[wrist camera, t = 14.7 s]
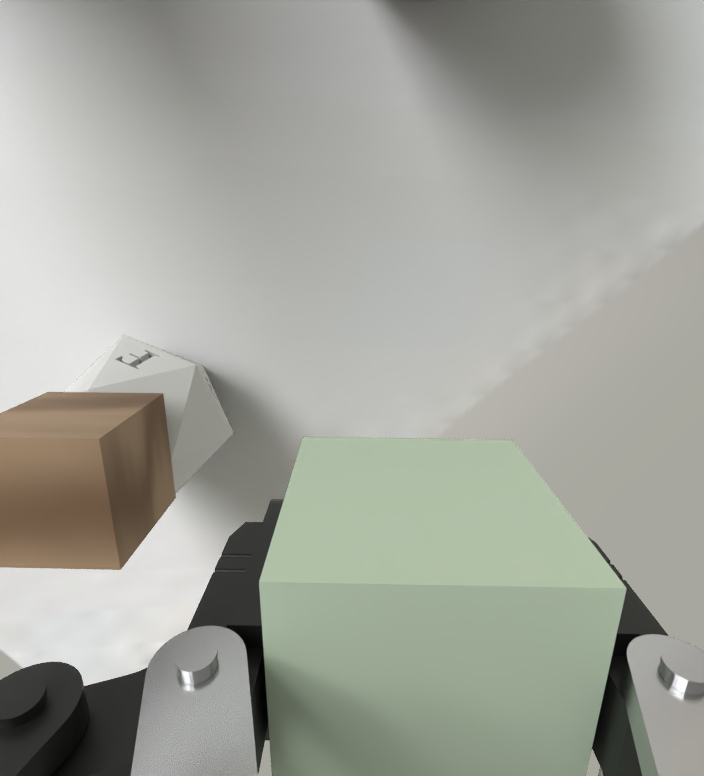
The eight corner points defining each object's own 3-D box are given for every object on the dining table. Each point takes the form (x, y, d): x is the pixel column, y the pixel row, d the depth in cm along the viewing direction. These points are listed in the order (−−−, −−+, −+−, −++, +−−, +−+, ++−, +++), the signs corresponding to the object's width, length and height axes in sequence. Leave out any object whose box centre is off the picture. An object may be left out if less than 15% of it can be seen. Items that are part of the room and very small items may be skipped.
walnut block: (48, 392, 22) (-52, 437, 17) (163, 393, 22) (98, 439, 17) (68, 495, 24) (-18, 566, 18) (175, 497, 23) (120, 569, 18)
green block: (302, 437, 10) (258, 582, 6) (512, 439, 10) (626, 588, 6) (307, 606, 11) (275, 827, 7) (492, 609, 11) (572, 834, 7)
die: (272, 402, 31) (203, 339, 22) (207, 526, 29) (101, 512, 20) (175, 361, 33) (77, 289, 24) (108, 472, 31) (-25, 438, 22)
